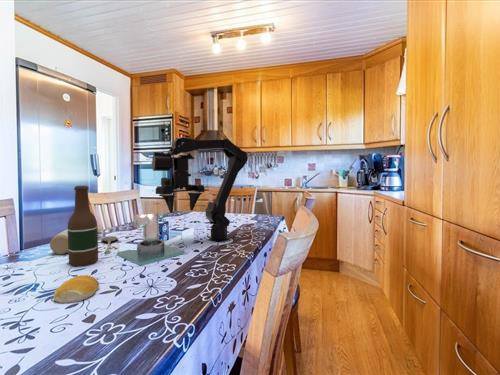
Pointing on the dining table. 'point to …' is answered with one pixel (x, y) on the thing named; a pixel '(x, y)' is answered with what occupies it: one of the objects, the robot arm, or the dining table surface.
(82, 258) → the beer bottle
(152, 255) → the duct collar
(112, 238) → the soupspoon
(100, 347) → the dining table surface
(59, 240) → the beige cylinder
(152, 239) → the metal bottle
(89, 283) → the bread roll
